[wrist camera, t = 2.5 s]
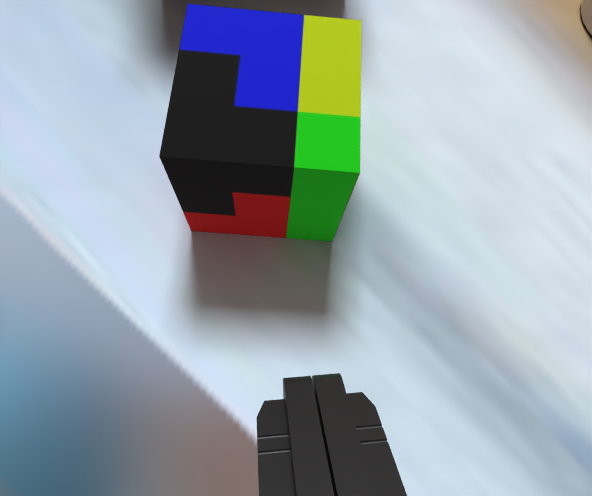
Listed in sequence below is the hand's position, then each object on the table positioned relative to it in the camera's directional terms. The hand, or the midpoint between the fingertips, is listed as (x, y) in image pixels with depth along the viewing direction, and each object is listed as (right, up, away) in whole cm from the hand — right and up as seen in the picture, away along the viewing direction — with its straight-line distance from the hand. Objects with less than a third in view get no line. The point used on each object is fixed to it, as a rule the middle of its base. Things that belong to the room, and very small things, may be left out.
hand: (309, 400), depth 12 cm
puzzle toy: (-2, +10, +22) cm, 24 cm away
